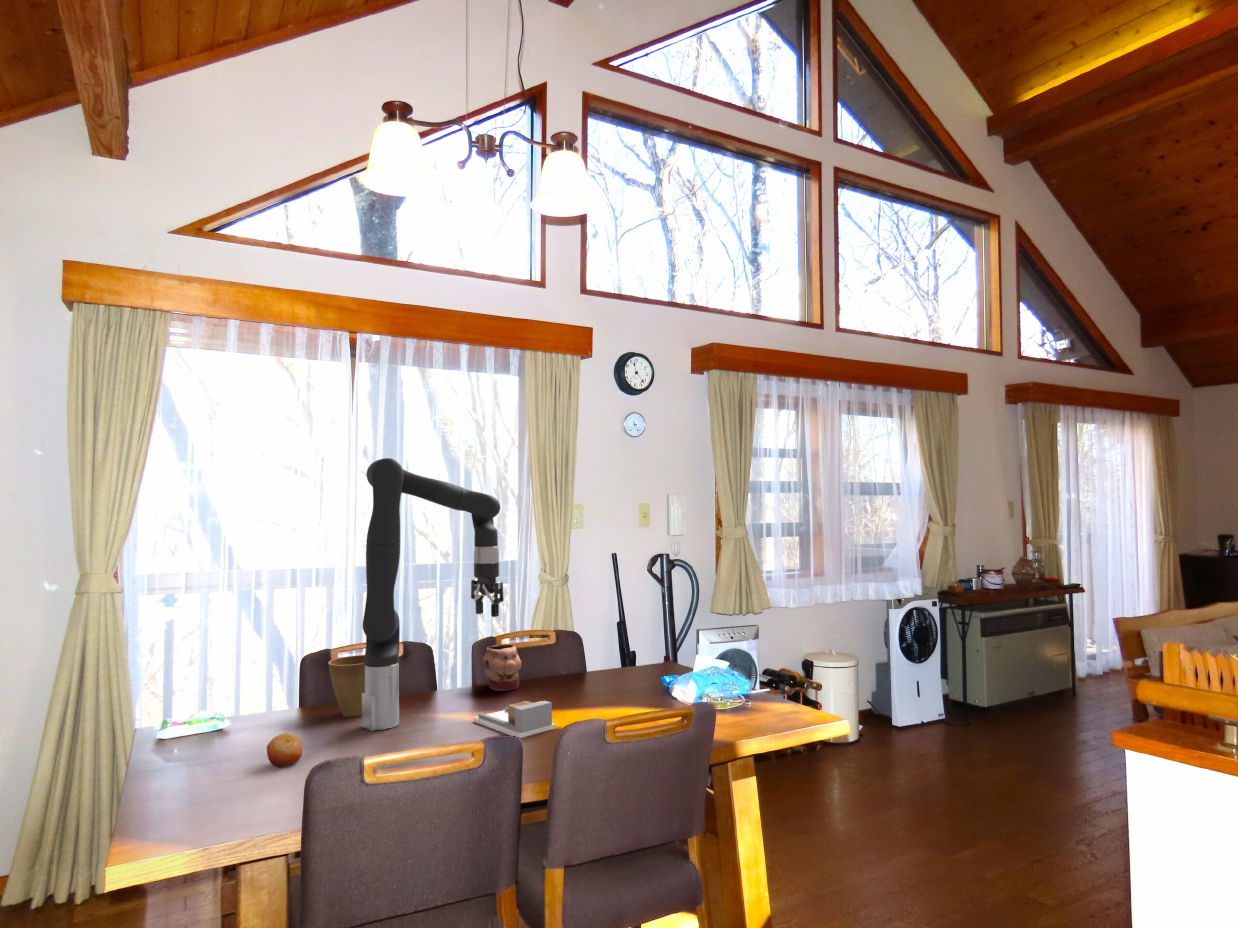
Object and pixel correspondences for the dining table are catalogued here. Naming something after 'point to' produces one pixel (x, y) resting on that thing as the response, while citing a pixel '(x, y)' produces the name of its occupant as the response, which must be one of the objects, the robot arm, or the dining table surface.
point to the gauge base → (505, 730)
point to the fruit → (284, 750)
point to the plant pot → (348, 683)
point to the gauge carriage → (512, 710)
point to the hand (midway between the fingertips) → (487, 615)
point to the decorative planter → (502, 667)
